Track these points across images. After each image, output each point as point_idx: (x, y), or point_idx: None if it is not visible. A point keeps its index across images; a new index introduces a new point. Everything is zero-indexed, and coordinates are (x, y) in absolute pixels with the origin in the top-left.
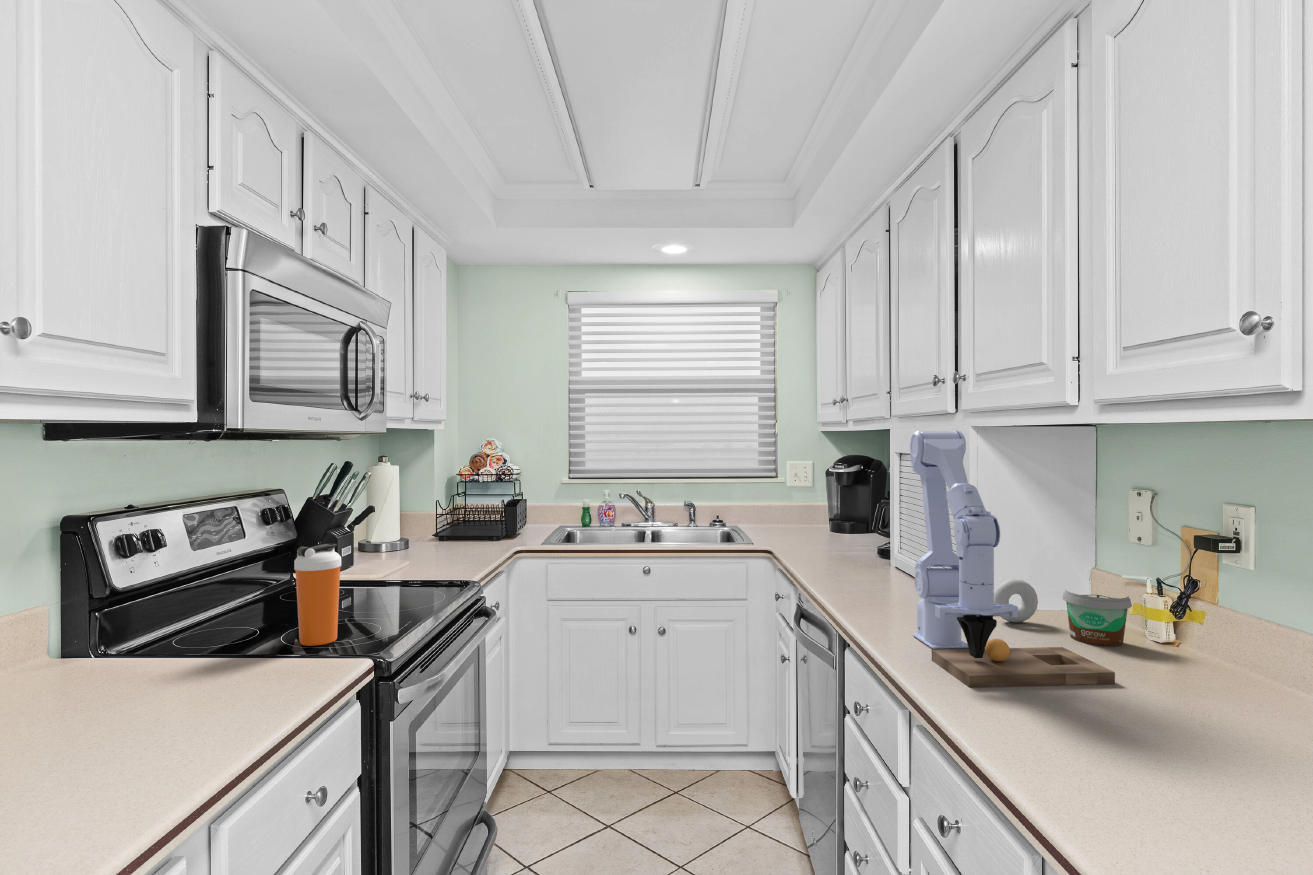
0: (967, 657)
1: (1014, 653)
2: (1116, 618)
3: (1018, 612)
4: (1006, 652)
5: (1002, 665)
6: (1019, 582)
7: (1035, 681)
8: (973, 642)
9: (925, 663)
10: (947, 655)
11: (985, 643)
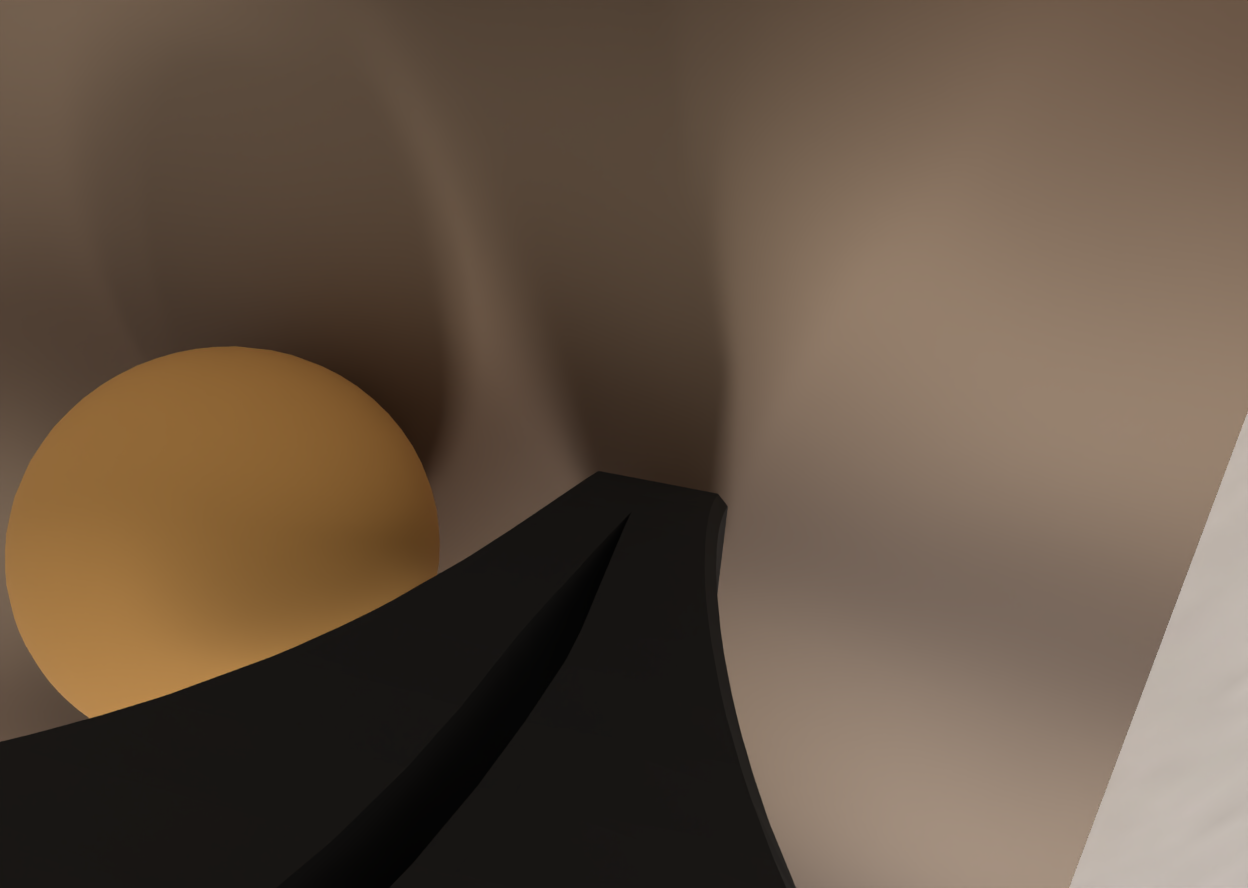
0: None
1: (12, 615)
2: None
3: None
4: (146, 369)
5: (359, 253)
6: None
7: None
8: (723, 685)
9: (1189, 867)
10: (951, 829)
11: (449, 585)
